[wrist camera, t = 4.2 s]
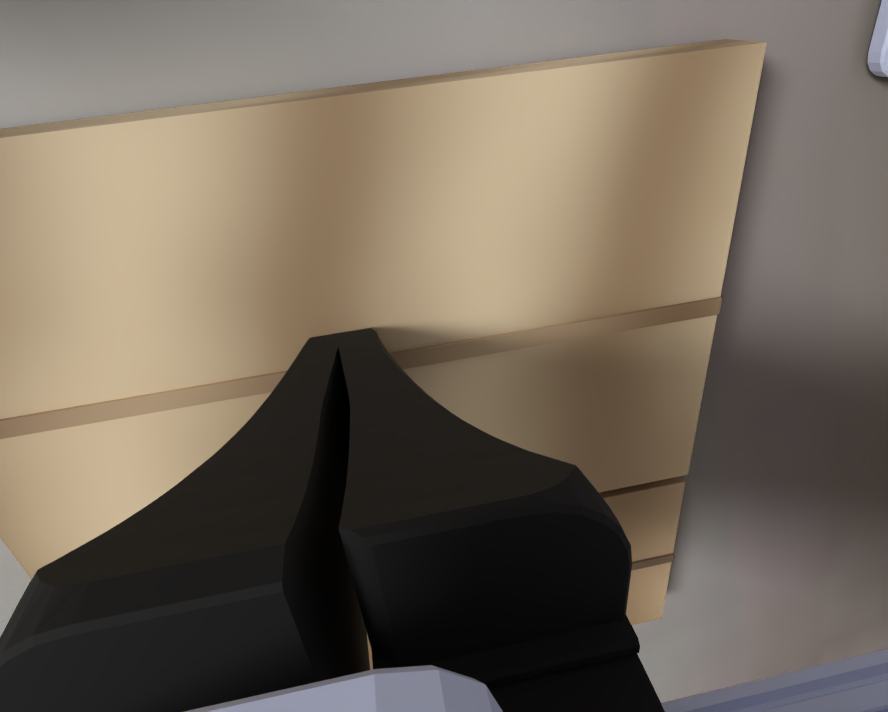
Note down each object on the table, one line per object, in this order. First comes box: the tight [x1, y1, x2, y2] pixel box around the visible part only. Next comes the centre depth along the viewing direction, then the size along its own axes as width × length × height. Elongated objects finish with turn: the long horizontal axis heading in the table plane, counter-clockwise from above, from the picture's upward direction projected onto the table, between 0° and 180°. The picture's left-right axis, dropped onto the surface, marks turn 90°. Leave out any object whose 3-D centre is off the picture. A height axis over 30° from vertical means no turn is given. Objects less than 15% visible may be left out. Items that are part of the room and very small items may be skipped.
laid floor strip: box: [367, 476, 685, 670], centre depth 16 cm, size 16×6×1 cm, turn 95°
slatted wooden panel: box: [0, 39, 767, 579], centre depth 12 cm, size 16×10×1 cm, turn 95°
